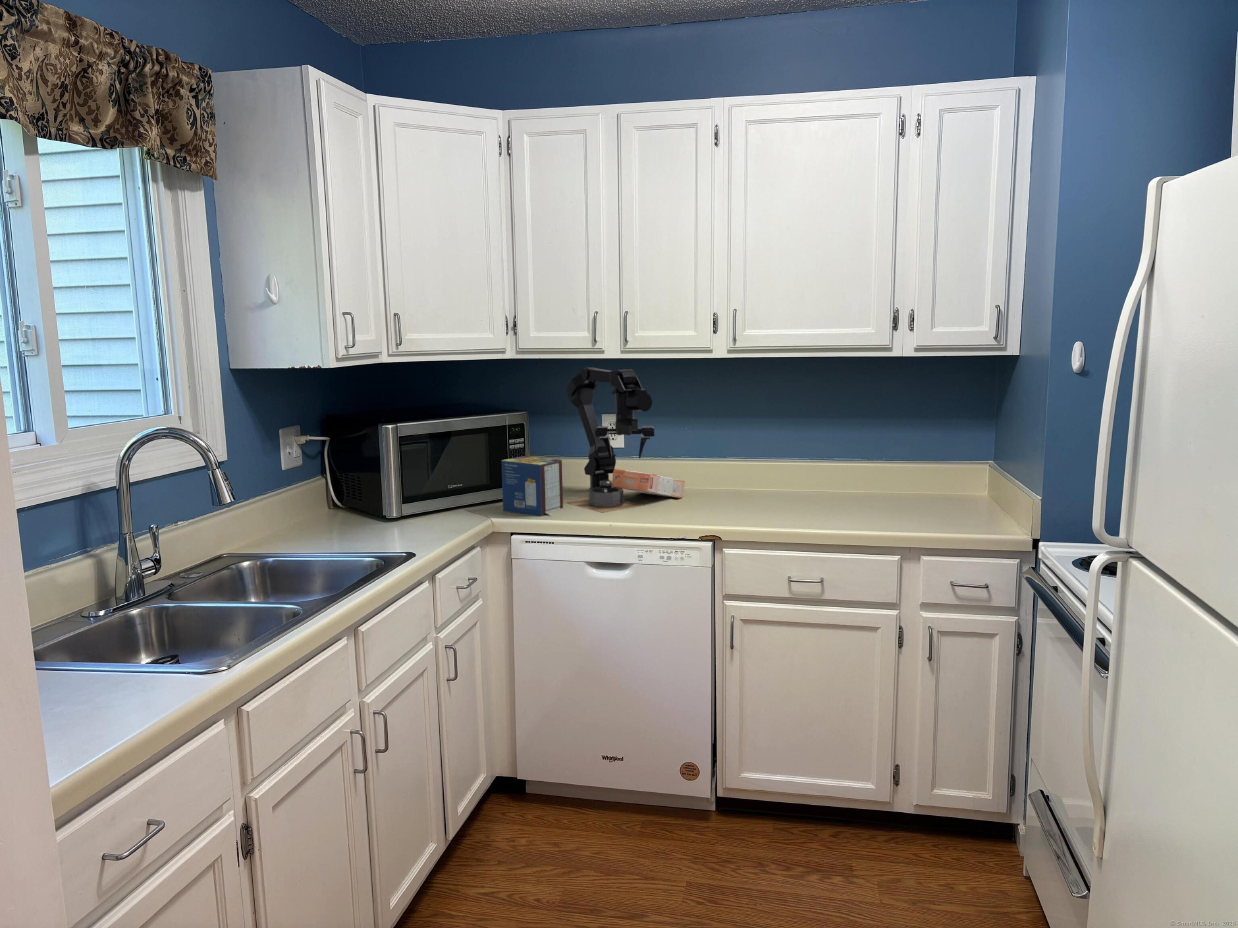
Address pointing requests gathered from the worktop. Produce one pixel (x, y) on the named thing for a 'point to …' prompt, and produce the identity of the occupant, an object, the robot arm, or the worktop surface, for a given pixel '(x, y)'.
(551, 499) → the protein box
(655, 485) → the cracker box
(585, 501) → the board
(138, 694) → the worktop surface
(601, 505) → the gray faceted ring
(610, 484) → the plunger
